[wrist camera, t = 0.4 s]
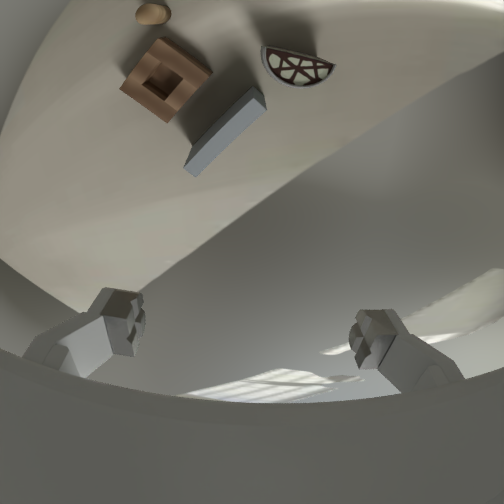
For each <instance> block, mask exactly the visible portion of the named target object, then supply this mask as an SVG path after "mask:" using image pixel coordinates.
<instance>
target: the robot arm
mask: <svg viewBox="0 0 504 504" xmlns="http://www.w3.org/2000/svg"><path fill="white" fill-rule="evenodd" d="M143 303H144V301H143V295H142V293H140V292H133V291H127V290H121V289H114V288H107V287H105V288H102V290H101V291H100V293H99V294H98V296H97V297H96V299H95V300H94V302H93V303H92V305H91V306H90V308H89V309H88V311H87V313H86V312H82V313H80V314H78V315H76V316H74V317H73V318H70V319H68V320H66V321H64V322H62V323H61V324H59V325H57V326H55V327H53V328H51V329H49V330H47V331H45V332H43V333H41V334H39V335H37V336H36V337H35V338H34V339H33V341H32V342H31V344H30V345H29V347H28V349H27V350H26V352H25V353H24V355H23V356H22V357H20V356H17V355H15V354H12V353H10V352H7V351H5V350H2V349H0V504H504V367H503V368H500V369H497V370H494V371H491V372H488V373H485V374H482V375H479V376H475V377H472V378H468V379H465V378H464V377H463V375H462V373H461V372H460V370H459V368H458V367H457V365H456V364H455V362H454V361H453V360H452V359H450V358H449V357H447V356H446V355H444V354H443V353H441V352H439V351H438V350H436V349H435V348H433V347H432V346H430V345H429V344H427V343H426V342H424V341H423V340H421V339H420V338H418V337H416V336H415V335H413V334H409V332H408V330H407V329H406V327H405V326H404V324H403V322H402V321H401V319H400V318H399V316H398V315H397V313H396V312H395V311H394V310H393V309H382V310H359V311H358V313H357V315H356V317H355V318H356V320H357V323H355V324H354V325H353V326H352V327H351V330H350V333H349V345H350V347H351V349H352V350H353V351H354V352H355V353H356V355H355V360H356V363H357V365H358V368H359V370H360V369H378V371H379V372H380V373H381V374H382V375H384V376H385V377H386V378H387V379H388V380H389V381H390V382H391V383H392V384H393V385H394V386H395V387H396V388H397V389H398V390H399V391H400V392H401V394H395V395H388V396H382V397H374V398H366V399H358V400H346V401H334V402H318V403H242V402H225V401H213V400H202V399H193V398H184V397H177V396H169V395H163V394H156V393H150V392H144V391H139V390H134V389H129V388H124V387H119V386H114V385H111V384H106V383H102V382H98V381H94V380H90V379H87V378H86V377H87V376H88V375H89V374H91V373H92V372H93V371H94V370H96V368H98V367H99V366H100V365H102V364H103V363H104V362H105V361H106V360H108V359H109V358H110V357H111V356H113V354H118V355H124V356H130V357H135V355H136V352H137V349H138V346H139V340H138V338H140V337H142V336H143V333H144V329H145V312H144V310H143V309H142V308H141V307H142V305H143Z"/></svg>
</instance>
